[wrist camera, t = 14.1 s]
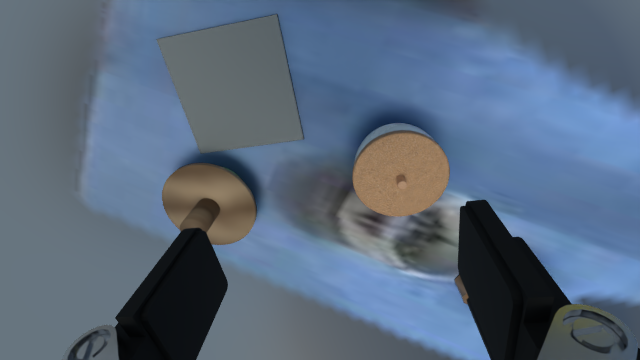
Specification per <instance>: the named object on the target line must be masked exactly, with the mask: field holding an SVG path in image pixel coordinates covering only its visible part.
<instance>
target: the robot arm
mask: <svg viewBox="0 0 640 360" xmlns="http://www.w3.org/2000/svg"><path fill="white" fill-rule="evenodd" d="M458 270H459V275H460V277H461V280H462V282H463V285H464V287H465V290H466V292H467V295H468V297H469V299H470V302H471V304H472V307H473V309H474V312H475V314H476V317H477V319H478V321H479V324H480V326H481V329H482V331H483V334H484V336H485V339H486V341H487V343H488V346H489V348H490V351H491V353H492V356H493V358H494V360H640V349H639V348H638V345H637V340H636V338H635V336H634V335H633V333H632V331H631V330H630V329H629V328H628V327H627V326H626V325H625V324H624V323H623V322H622V321H620V320H619V319H617V318H616V317H615V316H613V315H611V314H609V313H607V312H605V311H603V310H601V309H598V308H595V307H592V306H588V305H581V304H571V303H570V301H569V300H568V299H567V297H566V296H565V295H564V293H563V292H562V291H561V289H560V288H559V287H558V285H557V284H556V283H555V281H554V280H553V279H552V277H551V276H550V275H549V273H548V272H547V271H546V269H545V268H544V267H543V265H542V264H541V263H540V261H539V260H538V259H537V257H536V256H535V255H534V253H533V252H532V251H531V249H530V248H529V247H528V245H527V244H526V243H525V241H524V240H523V239H522V238H520V237H512V236H511V234H510V233H509V232H508V230H507V229H506V227H505V226H504V225H503V223H502V222H501V220H500V219H499V218H498V216H497V215H496V213H495V212H494V211H493V209H492V208H491V206H490V205H489V203H488V202H487V201H486V200H476V201H467V202H466V206H461V208H460V224H459V251H458ZM227 287H228V283H227V279H226V277H225V274H224V272H223V270H222V268H221V265H220V263H219V261H218V258H217V256H216V254H215V251H214V249H213V247H212V245H211V242H210V240H209V238H208V235H207V233H206V232H205V231H202V229H201V228H187V229H183V230H182V231H181V233H180V234H179V235H178V237H177V238H176V239H175V240H174V242H173V243H172V244H171V246H170V247H169V248H168V250H167V251H166V252H165V254H164V255H163V256H162V257H161V259H160V260H159V261H158V263H157V264H156V265H155V267H154V268H153V269H152V271H151V272H150V273H149V274H148V276H147V277H146V278H145V280H144V281H143V282H142V283H141V285H140V286H139V287H138V289H137V290H136V291H135V293H134V294H133V295H132V297H131V298H130V299H129V300H128V302H127V303H126V304H125V306H124V307H123V308H122V309H121V311H120V312H119V313H118V315H117V316H116V320H117V321H118V322H119V323H118V324H117V325H116V327H113V326H112V325H102V326H98V327H96V328H93V329H91V330H89V331H88V332H86V333H84V334H83V335H81V336H80V337H79V338H78V339H76V340H75V341H74V342H73V343H72V344H71V345H70V347H69V348H68V349H67V350H66V352H65V354H64V355H63V358H62V360H196V359H197V356H198V354H199V352H200V350H201V347H202V345H203V343H204V340H205V338H206V336H207V334H208V332H209V329H210V327H211V325H212V322H213V320H214V318H215V315H216V313H217V311H218V309H219V307H220V305H221V302H222V300H223V298H224V295H225V293H226V291H227Z"/></svg>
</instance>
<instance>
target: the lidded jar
mask: <svg viewBox="0 0 640 360" xmlns="http://www.w3.org/2000/svg"><path fill="white" fill-rule="evenodd" d="M449 174H450V168H449V162H448V159H447V156H446V155H445V153H444V151H443V149H442V148H441V147H440V146H439V145H438V143H437V142H435V140H434V139H433V138H432V137H431V136H430V135H429V134H427V133H426V132H425V131H423V130H422V129H420V128H418V127H416V126H413V125H410V124H405V123H392V124H387V125H384V126H381V127H379V128H377V129H375V130H374V131H372V132H371V133H370V134H369V135H367V137H366V138H365V139H364V140H363V142H362V143H361V145H360V146H359V148H358V150H357V153H356V156H355V160H354V167H353V185H354V189H355V191H356V194H357V196H358V197H359V198H360V200H361V201H362V202H363V203H364V204H365V205H366V206H367V207H369V208H370V209H372V210H374V211H376V212H378V213H380V214H383V215H388V216H407V215H412V214H415V213H418V212H420V211H423V210H425V209H426V208H428V207H429V206H431V205H432V204H433V203H435V202H436V201H437V200H438V199H439V197H440V196H441V195H442V194H443V192H444V190H445V188H446V186H447V184H448V180H449Z"/></svg>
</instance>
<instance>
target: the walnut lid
mask: <svg viewBox="0 0 640 360" xmlns="http://www.w3.org/2000/svg"><path fill="white" fill-rule="evenodd" d="M162 201H163V205H164V209H165V211H166V213H167V215H168V217H169V218H170V220H171V221H172V222H173V223H174V225H175V226H176V227H177V228H178V229H180V231H182V230H183V229H187V228H201V229H202V231H205V232H206V233H207V235H208V238H209V240H210V242H211V244H214V245H225V244H231V243H234V242H237V241H239V240H241V239H242V238H244V237H245V236H246V235H247V234H248V233H249V232H250V230H251V229H252V227H253V225H254V222H255V220H256V215H257V207H256V202H255V199H254V196H253V194H252V192H251V190H250V189H249V187H248V186H247V185H246V184H245V183H244V182H243V180H242V179H240V178H239V177H238V176H237V175H235V174H234V173H232V172H231V171H229V170H227V169H225V168H223V167H220V166H218V165H214V164H209V163H192V164H188V165H185V166H183V167H181V168H179V169H177V170H176V171H175V172H174V173H173V174H172V175H171V176H170V177H169V178H168V179H167V181H166V182H165V184H164V187H163V191H162Z"/></svg>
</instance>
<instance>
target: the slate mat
mask: <svg viewBox="0 0 640 360" xmlns="http://www.w3.org/2000/svg"><path fill="white" fill-rule="evenodd" d="M156 40H157V42H158V45H159V47H160V50H161V52H162V55H163V58H164V60H165V63H166V65H167V68H168V71H169V73H170V76H171V78H172V81H173V83H174V86H175V89H176V91H177V94H178V96H179V99H180V102H181V104H182V107H183V109H184V112H185V114H186V117H187V120H188V122H189V125H190V127H191V130H192V133H193V135H194V138H195V140H196V143H197V145H198V148H199V151H200V153H209V152H216V151H223V150H230V149H238V148H245V147H252V146H259V145H267V144H274V143H281V142H288V141H295V140H303V139H304V136H303V131H302V127H301V122H300V117H299V113H298V108H297V103H296V99H295V94H294V89H293V85H292V80H291V75H290V71H289V66H288V61H287V57H286V52H285V47H284V43H283V38H282V33H281V29H280V24H279V19H278V15H277V14H276V15H271V16H267V17H262V18H257V19H252V20H247V21H242V22H238V23H233V24H228V25H223V26H218V27H214V28H209V29H204V30H199V31H194V32H190V33H185V34H180V35H175V36H170V37H166V38H161V39H156Z"/></svg>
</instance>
